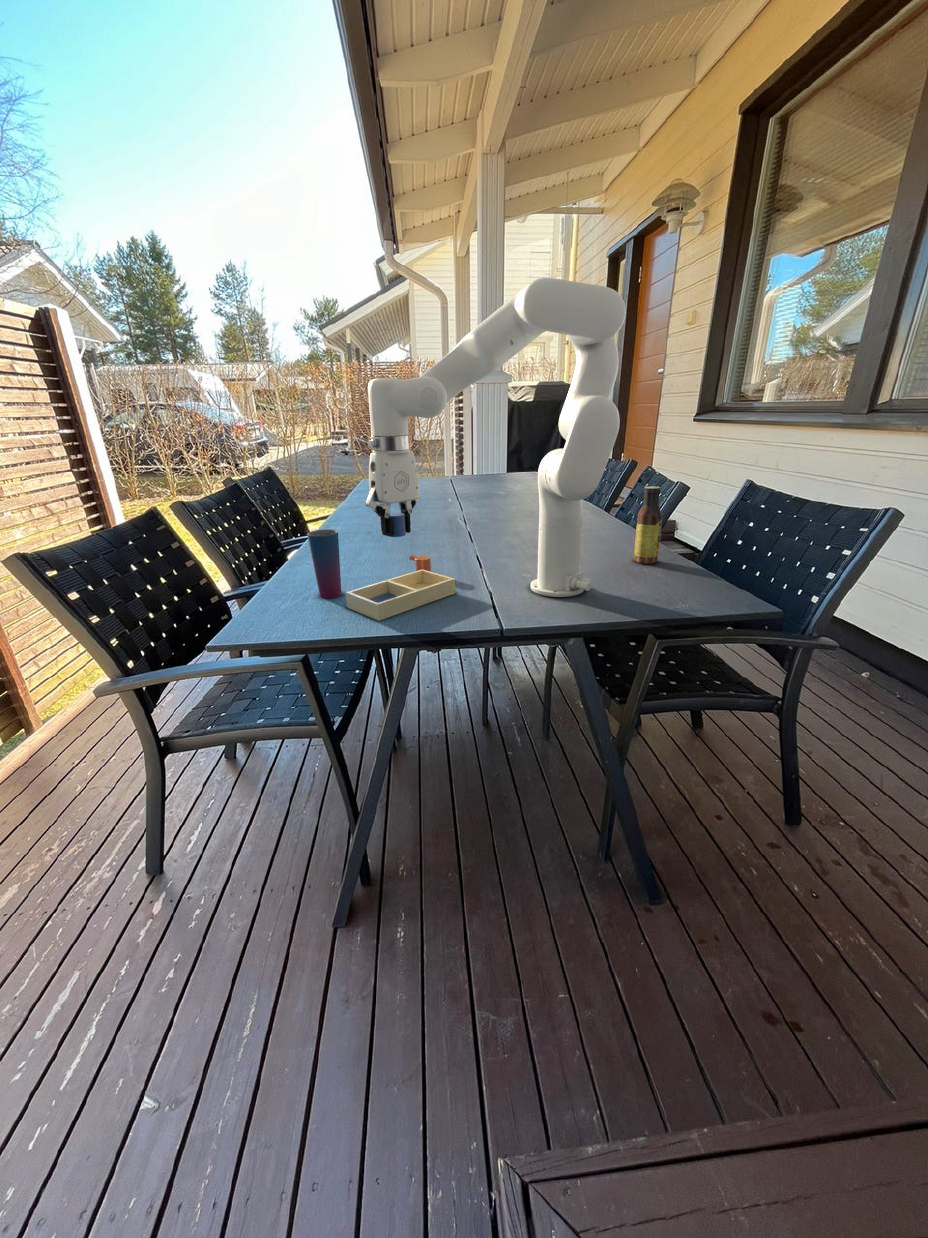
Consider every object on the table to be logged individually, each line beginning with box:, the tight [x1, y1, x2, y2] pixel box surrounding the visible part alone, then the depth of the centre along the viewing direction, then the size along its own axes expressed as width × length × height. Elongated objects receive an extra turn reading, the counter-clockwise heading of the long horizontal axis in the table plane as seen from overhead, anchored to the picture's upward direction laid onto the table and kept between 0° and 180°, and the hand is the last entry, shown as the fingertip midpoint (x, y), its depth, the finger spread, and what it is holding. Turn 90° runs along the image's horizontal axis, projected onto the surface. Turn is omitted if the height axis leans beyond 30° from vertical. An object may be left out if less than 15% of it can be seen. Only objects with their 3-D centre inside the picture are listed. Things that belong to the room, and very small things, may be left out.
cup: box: [306, 528, 342, 599], centre depth 121 cm, size 7×7×15 cm
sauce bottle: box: [633, 485, 663, 565], centre depth 139 cm, size 7×6×20 cm
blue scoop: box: [390, 512, 407, 538], centre depth 114 cm, size 7×4×4 cm, turn 44°
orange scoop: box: [408, 554, 432, 572], centre depth 137 cm, size 7×4×4 cm, turn 45°
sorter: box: [345, 569, 457, 622], centre depth 119 cm, size 12×22×4 cm, turn 135°
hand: (396, 532), depth 114 cm, fingers closed on blue scoop, 4 cm apart
